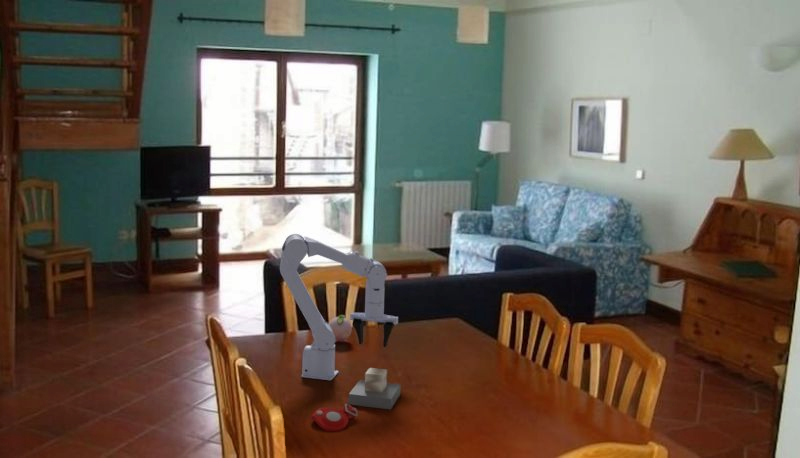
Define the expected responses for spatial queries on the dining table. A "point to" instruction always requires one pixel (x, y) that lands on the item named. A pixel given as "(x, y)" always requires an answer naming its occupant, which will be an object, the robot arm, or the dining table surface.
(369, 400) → the gray base
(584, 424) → the dining table surface
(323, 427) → the tracker holder
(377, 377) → the cream cube
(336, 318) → the decorative fruit
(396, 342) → the dining table surface
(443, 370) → the dining table surface
